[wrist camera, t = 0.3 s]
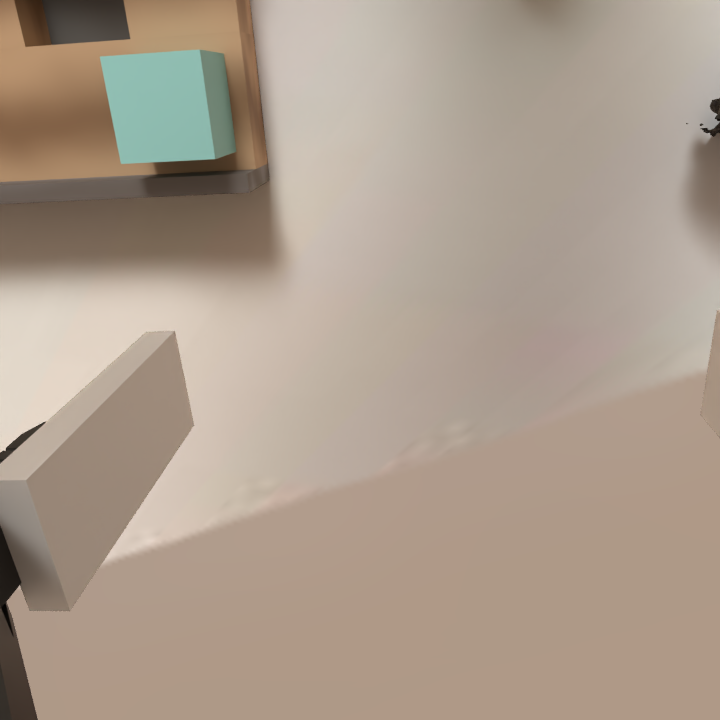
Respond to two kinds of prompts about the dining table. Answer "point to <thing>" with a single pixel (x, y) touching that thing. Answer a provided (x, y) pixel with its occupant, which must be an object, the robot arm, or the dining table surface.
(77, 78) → the trap board
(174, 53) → the block
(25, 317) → the dining table surface
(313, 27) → the dining table surface
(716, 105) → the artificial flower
